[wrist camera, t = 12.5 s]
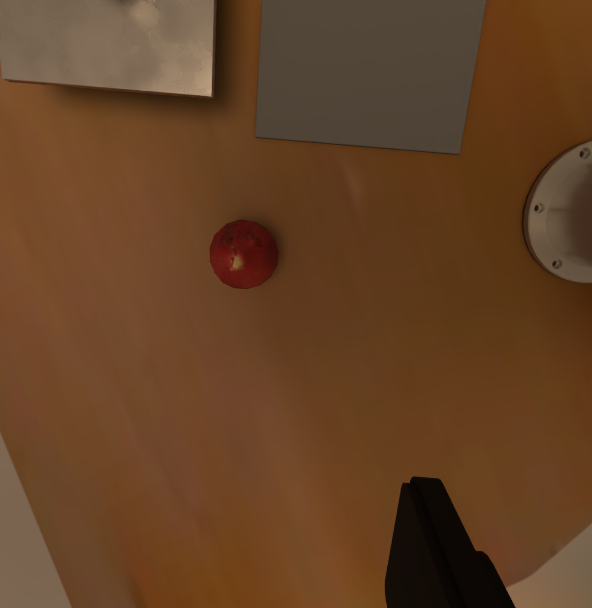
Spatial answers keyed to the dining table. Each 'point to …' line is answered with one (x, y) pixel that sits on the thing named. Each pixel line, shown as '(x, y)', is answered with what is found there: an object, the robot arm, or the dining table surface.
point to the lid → (111, 45)
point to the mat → (368, 72)
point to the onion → (243, 254)
